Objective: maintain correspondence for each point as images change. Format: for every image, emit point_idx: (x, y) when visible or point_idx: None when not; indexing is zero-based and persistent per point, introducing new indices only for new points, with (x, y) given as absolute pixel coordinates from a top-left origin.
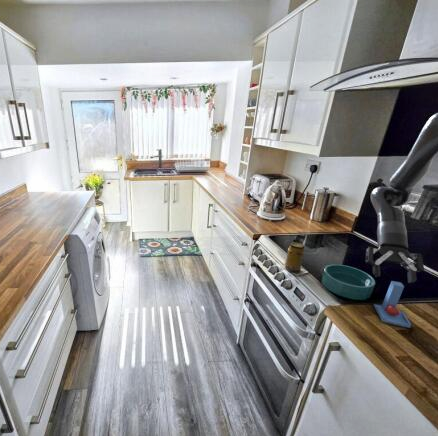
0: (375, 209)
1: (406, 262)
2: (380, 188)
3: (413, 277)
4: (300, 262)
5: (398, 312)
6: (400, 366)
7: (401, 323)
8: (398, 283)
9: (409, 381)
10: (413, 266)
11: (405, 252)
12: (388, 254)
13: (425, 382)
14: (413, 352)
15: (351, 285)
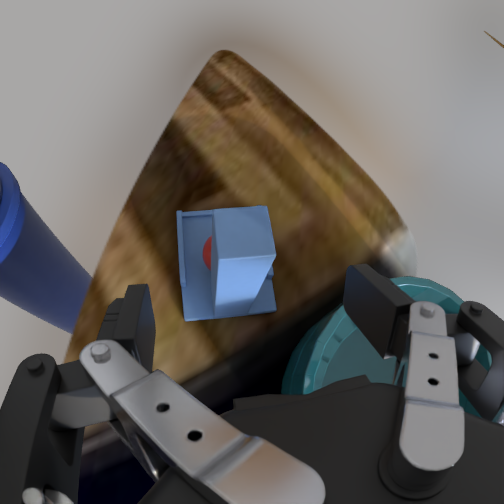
0: None
1: (175, 383)
2: None
3: (129, 299)
4: None
5: (210, 236)
6: (246, 83)
7: (204, 212)
8: (238, 237)
9: (239, 64)
10: (100, 374)
11: None
12: (430, 402)
13: (213, 69)
14: (206, 123)
15: (404, 279)
